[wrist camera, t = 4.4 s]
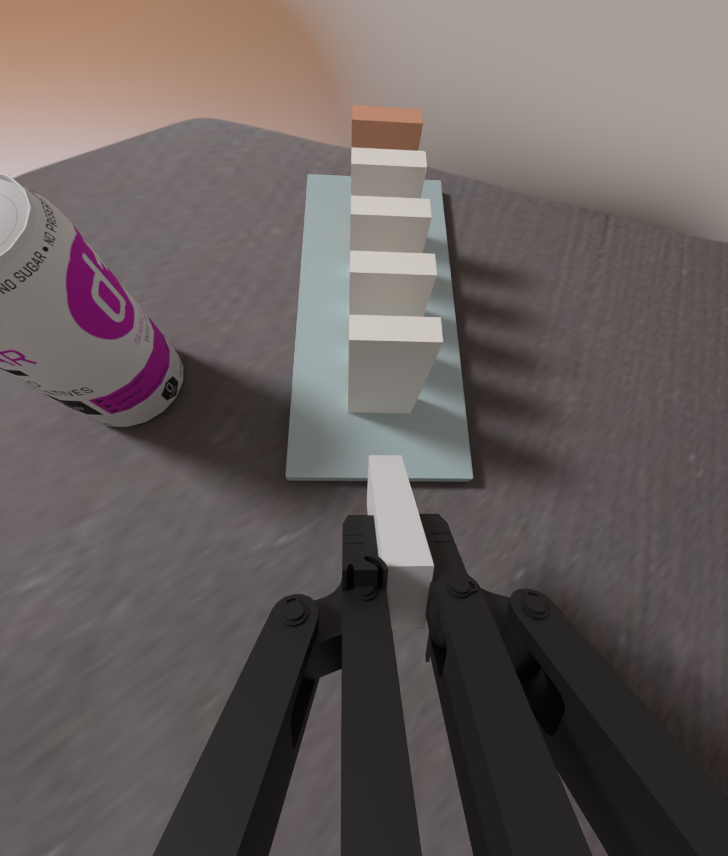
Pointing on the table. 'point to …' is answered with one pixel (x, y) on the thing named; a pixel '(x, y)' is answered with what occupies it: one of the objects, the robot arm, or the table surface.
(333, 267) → the domino board
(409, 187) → the domino
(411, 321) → the domino
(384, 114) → the domino
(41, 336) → the supplement can
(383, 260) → the domino
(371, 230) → the domino
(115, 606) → the table surface
